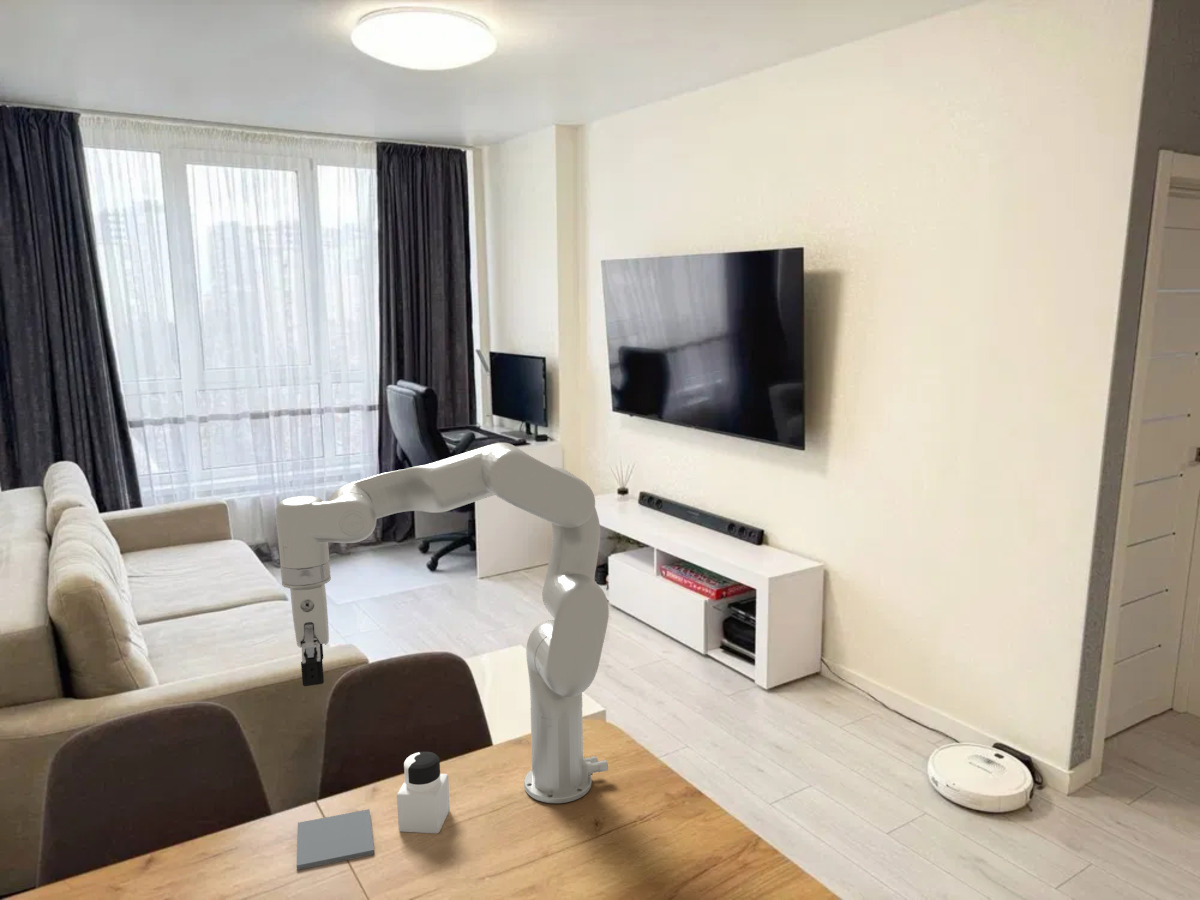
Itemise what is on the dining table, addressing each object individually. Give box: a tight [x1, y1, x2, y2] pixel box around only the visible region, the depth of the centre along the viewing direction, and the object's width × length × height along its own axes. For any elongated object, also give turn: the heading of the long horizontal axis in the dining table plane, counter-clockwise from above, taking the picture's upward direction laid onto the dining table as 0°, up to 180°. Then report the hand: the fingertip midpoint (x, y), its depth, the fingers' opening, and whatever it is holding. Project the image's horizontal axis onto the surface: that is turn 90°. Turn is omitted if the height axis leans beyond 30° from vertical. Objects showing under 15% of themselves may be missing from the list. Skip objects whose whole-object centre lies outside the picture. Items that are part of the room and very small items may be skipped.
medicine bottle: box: [396, 751, 451, 834], centre depth 147 cm, size 7×7×12 cm
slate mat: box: [296, 808, 375, 871], centre depth 143 cm, size 12×12×1 cm
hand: (313, 672), depth 140 cm, fingers open, 9 cm apart
